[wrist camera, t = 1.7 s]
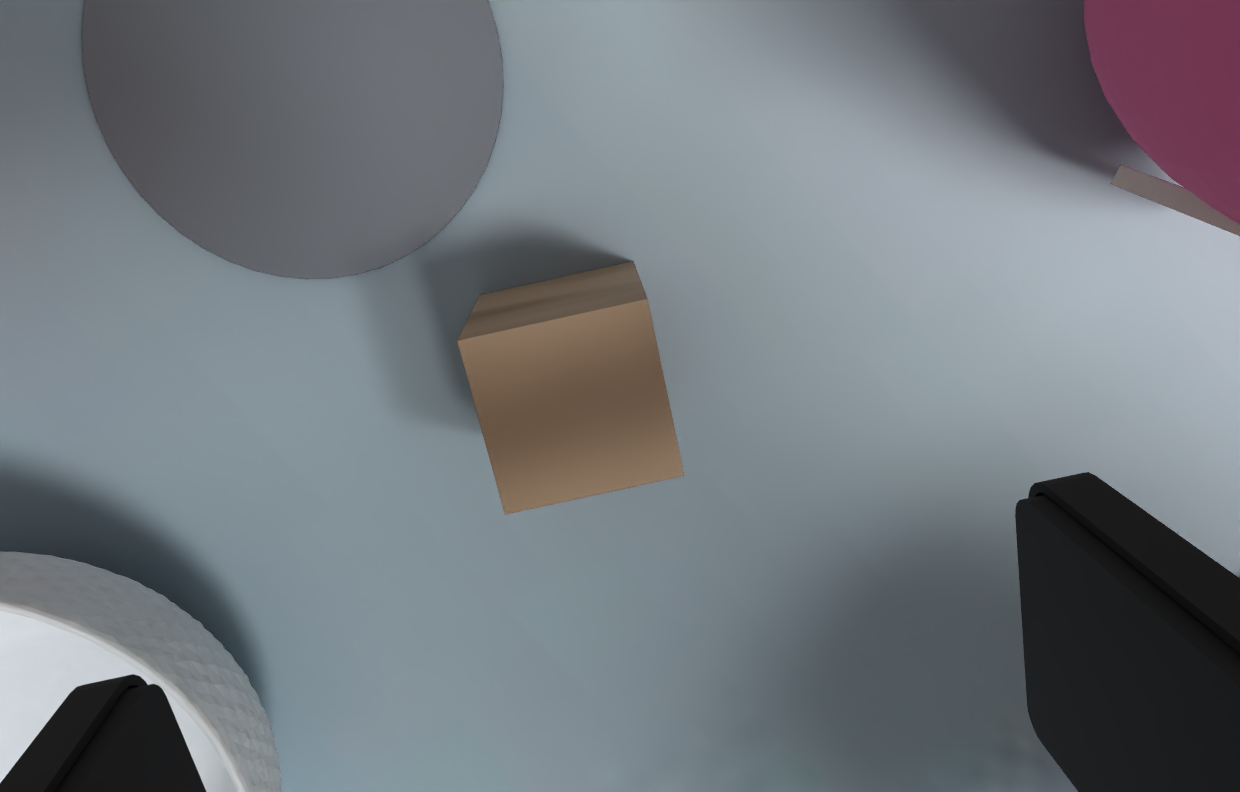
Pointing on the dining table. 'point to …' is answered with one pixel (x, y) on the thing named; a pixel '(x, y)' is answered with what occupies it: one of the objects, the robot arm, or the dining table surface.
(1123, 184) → the pink dragon fruit
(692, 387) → the dining table surface
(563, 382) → the walnut block
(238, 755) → the cereal bowl
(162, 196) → the disc
